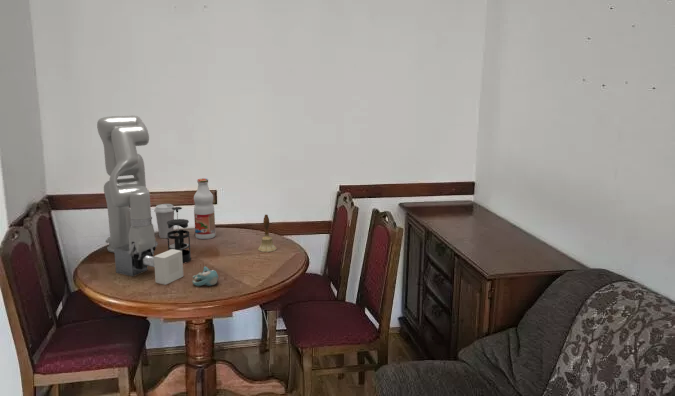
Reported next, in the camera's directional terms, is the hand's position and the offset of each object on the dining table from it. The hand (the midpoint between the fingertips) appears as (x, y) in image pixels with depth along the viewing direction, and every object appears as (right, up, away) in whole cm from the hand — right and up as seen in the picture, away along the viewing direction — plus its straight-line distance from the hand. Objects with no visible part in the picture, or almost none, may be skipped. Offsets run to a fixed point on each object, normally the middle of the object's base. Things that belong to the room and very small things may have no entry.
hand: (144, 266), depth 240 cm
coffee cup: (-6, +8, +52) cm, 53 cm away
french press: (+9, 0, +18) cm, 20 cm away
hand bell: (+45, +4, +33) cm, 55 cm away
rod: (-3, 0, +1) cm, 3 cm away
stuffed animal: (+26, -6, -8) cm, 27 cm away
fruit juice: (+13, +8, +51) cm, 53 cm away
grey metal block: (-6, -3, +4) cm, 8 cm away
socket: (+11, -5, -5) cm, 13 cm away
